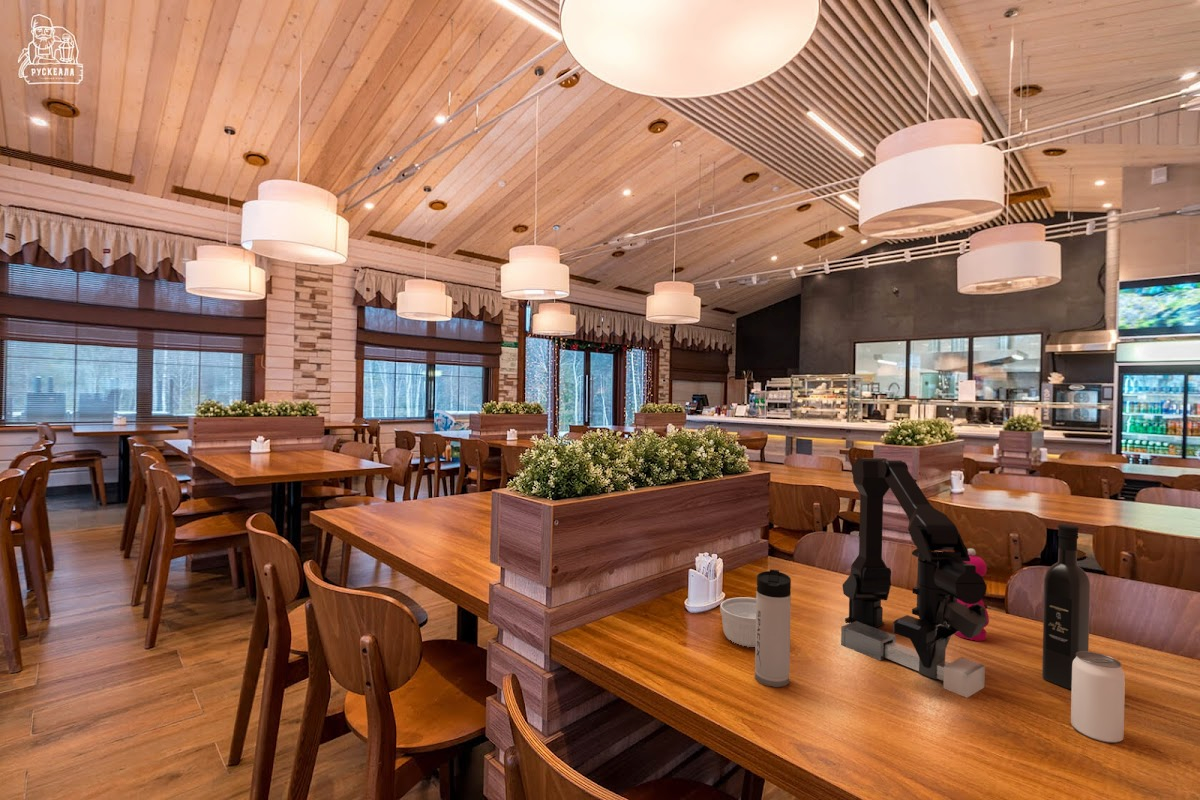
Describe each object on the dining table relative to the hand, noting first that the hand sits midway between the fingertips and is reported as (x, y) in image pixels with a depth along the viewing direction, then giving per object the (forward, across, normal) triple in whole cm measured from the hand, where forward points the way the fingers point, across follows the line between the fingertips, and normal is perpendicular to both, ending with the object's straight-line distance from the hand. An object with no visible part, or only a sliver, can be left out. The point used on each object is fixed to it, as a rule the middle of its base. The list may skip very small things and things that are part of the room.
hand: (932, 664), depth 111 cm
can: (+2, +3, -24) cm, 25 cm away
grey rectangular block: (+2, 0, -6) cm, 6 cm away
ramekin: (+2, -17, +31) cm, 35 cm away
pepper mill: (+2, +27, +5) cm, 28 cm away
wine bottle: (+2, +19, -15) cm, 24 cm away
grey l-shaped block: (+2, 0, +2) cm, 3 cm away
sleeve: (+2, 0, +13) cm, 13 cm away
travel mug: (+2, -28, +16) cm, 32 cm away
